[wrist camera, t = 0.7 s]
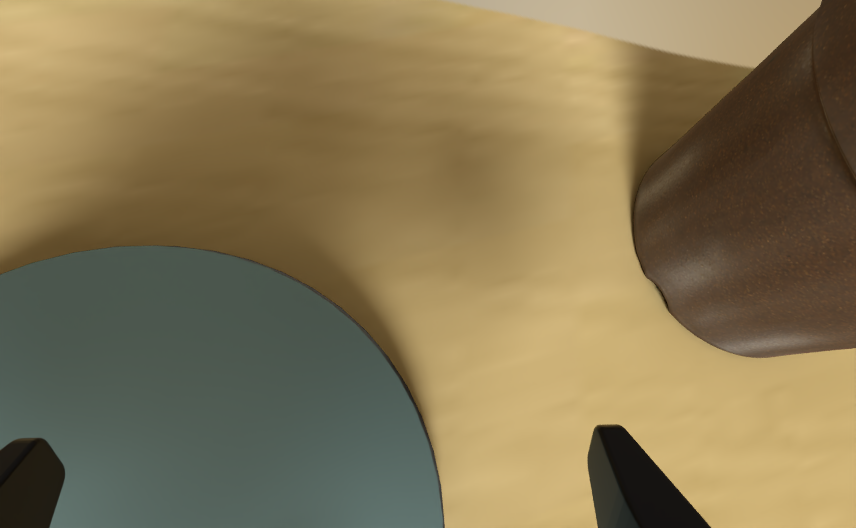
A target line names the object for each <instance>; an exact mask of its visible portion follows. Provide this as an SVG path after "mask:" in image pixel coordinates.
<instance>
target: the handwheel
mask: <svg viewBox="0 0 856 528" xmlns="http://www.w3.org/2000/svg"><path fill="white" fill-rule="evenodd" d="M19 438H43V439H45V440H46V441H47V442H48V443H49V445H50V446H51V447H52V449H53V450H54V452H55V453H56V455H57V456H58V458H59V459H60V460H61V462H62V463H63V465H64V468H65V480H64V484H63V487H62V490H61V493H60V496H59V499H58V502H57V506H56V509H55V512H54V515H53V518H52V521H51V524H50V527H49V528H443V517H442V509H441V502H440V494H439V486H438V479H437V475H436V471H435V467H434V463H433V459H432V455H431V451H430V447H429V443H428V440H427V438H426V435H425V432H424V430H423V427H422V425H421V422H420V419H419V417H418V414H417V412H416V409H415V407H414V405H413V403H412V401H411V400H410V398H409V396H408V394H407V392H406V390H405V388H404V387H403V385H402V383H401V381H400V379H399V377H398V376H397V374H396V373H395V372H394V370H393V369H392V367H391V366H390V365H389V363H388V362H387V360H386V359H385V358H384V356H383V355H382V353H381V352H380V351H379V349H378V348H377V347H376V346H375V345H374V344H373V343H372V342H371V341H370V339H369V338H368V337H367V336H366V335H365V334H364V333H363V332H362V331H361V330H360V329H359V328H358V326H357V325H356V324H355V323H353V322H352V321H351V320H350V319H349V318H347V317H346V316H345V315H344V314H343V313H341V312H340V311H339V310H338V309H337V308H335V307H334V306H333V305H332V304H331V303H330V302H328V301H327V300H325V299H324V298H322V297H320V296H319V295H317V294H316V293H314V292H313V291H311V290H309V289H308V288H306V287H305V286H303V285H302V284H300V283H298V282H296V281H294V280H292V279H290V278H288V277H286V276H283V275H281V274H279V273H277V272H275V271H273V270H271V269H269V268H266V267H263V266H260V265H257V264H254V263H251V262H248V261H245V260H242V259H239V258H236V257H233V256H229V255H224V254H219V253H214V252H209V251H204V250H199V249H192V248H180V247H168V246H124V247H111V248H104V249H96V250H89V251H82V252H75V253H71V254H66V255H62V256H58V257H54V258H50V259H46V260H42V261H38V262H34V263H31V264H28V265H25V266H22V267H20V268H17V269H14V270H11V271H8V272H6V273H3V274H0V450H1V449H2V448H3V447H5V446H6V445H7V444H9V443H10V442H12V441H14V440H16V439H19Z"/></svg>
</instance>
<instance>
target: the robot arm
mask: <svg viewBox="0 0 856 528" xmlns="http://www.w3.org/2000/svg"><path fill="white" fill-rule="evenodd" d="M588 471H589V477H590V483H591V489H592V495H593V501H594V507H595V513H596V519H597V525H598V528H711V527H710V526H709V525H708V523H707V522H706V521H705V520H704V519H703V518H702V517H701V515H700V514H699V513H698V512H697V511H696V510H695V509H694V507H693V506H692V505H691V504H690V503H689V502H688V500H687V499H686V498H685V497H684V496H683V495H682V494H681V492H680V491H679V490H678V489H677V488H676V487H675V486H674V484H673V483H672V482H671V481H670V480H669V479H668V478H667V476H666V475H665V474H664V473H663V472H662V471H661V470H660V468H659V467H658V466H657V465H656V464H655V463H654V462H653V460H652V459H651V458H650V457H649V456H648V455H647V453H646V452H645V451H644V450H643V449H642V448H641V447H640V445H639V444H638V443H637V442H636V441H635V440H634V439H633V437H632V436H631V435H630V434H629V433H628V432H627V431H626V429H625V428H623V427H622V426H620V425H617V424H615V425H597V426H596V427H595V428H594V431H593V435H592V439H591V444H590V448H589V452H588ZM64 480H65V468H64V465H63V463H62V462H61V460H60V459H59V458H58V456H57V455H56V453H55V452H54V450H53V449H52V447H51V446H50V445H49V443H48V442H47V441H46V440H45V439H43V438H19V439H16V440H14V441H12V442H10V443H9V444H7V445H6V446H5V447H3V448H2V449H1V450H0V528H49V527H50V524H51V521H52V518H53V515H54V512H55V509H56V506H57V502H58V499H59V496H60V493H61V490H62V487H63V484H64Z"/></svg>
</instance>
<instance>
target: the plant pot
mask: <svg viewBox="0 0 856 528" xmlns="http://www.w3.org/2000/svg"><path fill="white" fill-rule="evenodd" d="M634 236H635V244H636V250H637V254H638V257H639V260H640V262H641V265H642V268H643V271H644V273H645V276H646V277H647V278H648V279H649V280H651V281H652V282H654V283H655V284H656V285H657V286H658V287H659V289H660V290H661V292H662V294H663V295H664V297H665V299H666V301H667V304H668V308H669V312H670V313H671V314H672V315H673V316H674V317H675V318H676V319H677V320H678V321H679V323H681V324H682V325H683V326H684V327H685V328H687V329H688V330H689V331H690V332H692V333H693V334H694V335H695V336H697V337H699V338H700V339H702V340H704V341H705V342H707V343H709V344H710V345H713V346H715V347H717V348H719V349H722V350H724V351H727V352H730V353H733V354H737V355H741V356H746V357H755V358H766V357H776V356H783V355H792V354H801V353H810V352H820V351H830V350H840V349H851V348H856V0H822V2H821V5H820V7H819V8H818V9H817V10H816V11H815V12H814V13H813V14H812V15H811V16H810V17H809V18H808V19H807V20H806V21H805V22H803V23H802V24H801V25H800V26H799V27H798V28H797V29H796V30H795V31H794V32H793V33H792V34H791V35H790V36H789V37H788V38H786V39H785V40H784V41H783V42H782V43H781V44H780V45H779V46H778V47H777V48H776V49H775V50H774V51H773V52H772V53H771V54H770V55H769V56H768V57H767V58H766V59H765V60H763V62H761V63H760V64H759V65H758V66H757V67H756V68H755V69H754V70H753V71H752V72H751V73H750V74H749V75H748V76H747V77H745V78H744V79H743V80H742V81H741V82H740V83H739V84H738V85H737V86H736V87H735V88H734V89H733V90H732V91H731V92H729V93H728V94H727V95H726V96H725V97H724V98H723V99H722V100H721V101H720V102H719V103H718V104H717V105H716V106H714V107H713V108H712V109H711V110H710V111H709V112H708V113H707V114H706V115H705V116H704V117H703V118H702V119H701V120H700V121H699V122H698V123H697V124H695V125H694V126H693V127H692V128H691V129H690V130H689V131H688V132H687V133H686V134H685V135H684V136H683V137H682V138H680V139H679V140H678V141H677V142H676V143H675V144H674V145H673V146H672V147H671V148H670V149H668V150H667V151H666V152H665V153H664V154H663V155H662V156H660V157H659V158H658V159H657V160H656V161H655V162H654V163H653V164H652V166H651V167H650V168H649V170H648V171H647V172H646V174H645V176H644V178H643V180H642V182H641V184H640V187H639V189H638V193H637V197H636V201H635V208H634Z"/></svg>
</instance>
